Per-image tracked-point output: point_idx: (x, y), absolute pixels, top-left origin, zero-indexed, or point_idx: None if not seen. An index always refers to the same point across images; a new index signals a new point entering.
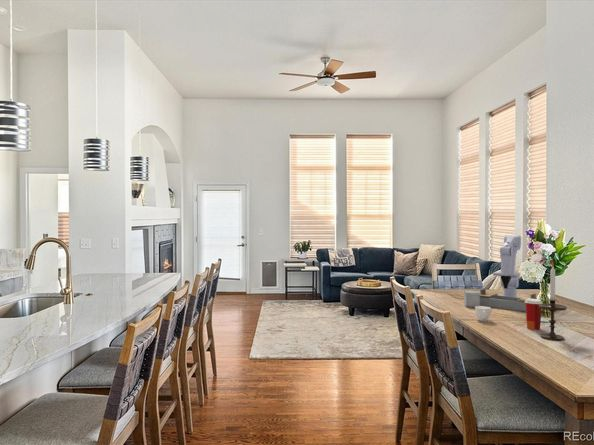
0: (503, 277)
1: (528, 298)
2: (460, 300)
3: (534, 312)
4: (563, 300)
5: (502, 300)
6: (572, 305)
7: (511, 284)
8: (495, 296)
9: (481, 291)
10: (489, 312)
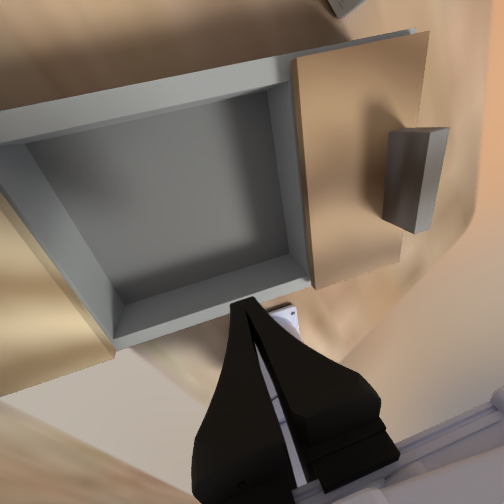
0: (309, 415)
1: (1, 311)
2: (472, 140)
3: None
4: (158, 499)
5: (141, 84)
6: (53, 485)
7: (284, 436)
8: (303, 240)
9: (419, 130)
10: None
